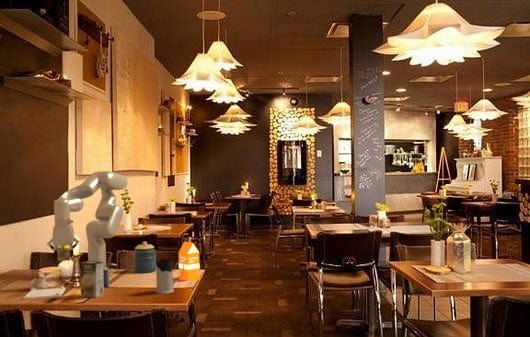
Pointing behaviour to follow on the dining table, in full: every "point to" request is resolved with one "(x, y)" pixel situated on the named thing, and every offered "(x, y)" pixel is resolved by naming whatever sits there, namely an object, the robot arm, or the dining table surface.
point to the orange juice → (189, 262)
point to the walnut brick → (63, 254)
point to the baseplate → (44, 293)
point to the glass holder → (165, 276)
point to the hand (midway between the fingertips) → (63, 257)
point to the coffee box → (92, 279)
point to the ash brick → (38, 283)
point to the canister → (144, 258)
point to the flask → (106, 277)
